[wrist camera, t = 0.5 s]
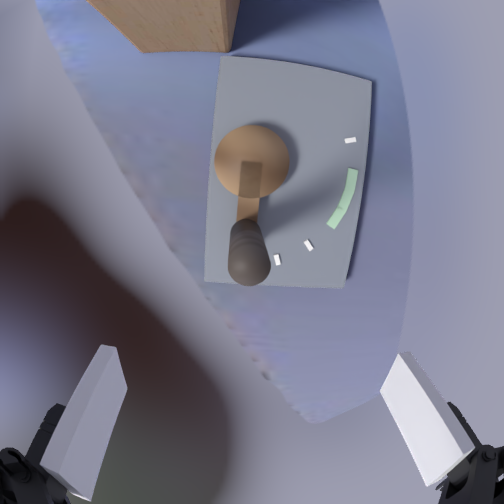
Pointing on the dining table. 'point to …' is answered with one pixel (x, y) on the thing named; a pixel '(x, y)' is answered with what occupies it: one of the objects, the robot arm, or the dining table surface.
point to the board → (294, 168)
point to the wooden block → (173, 23)
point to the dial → (250, 194)
